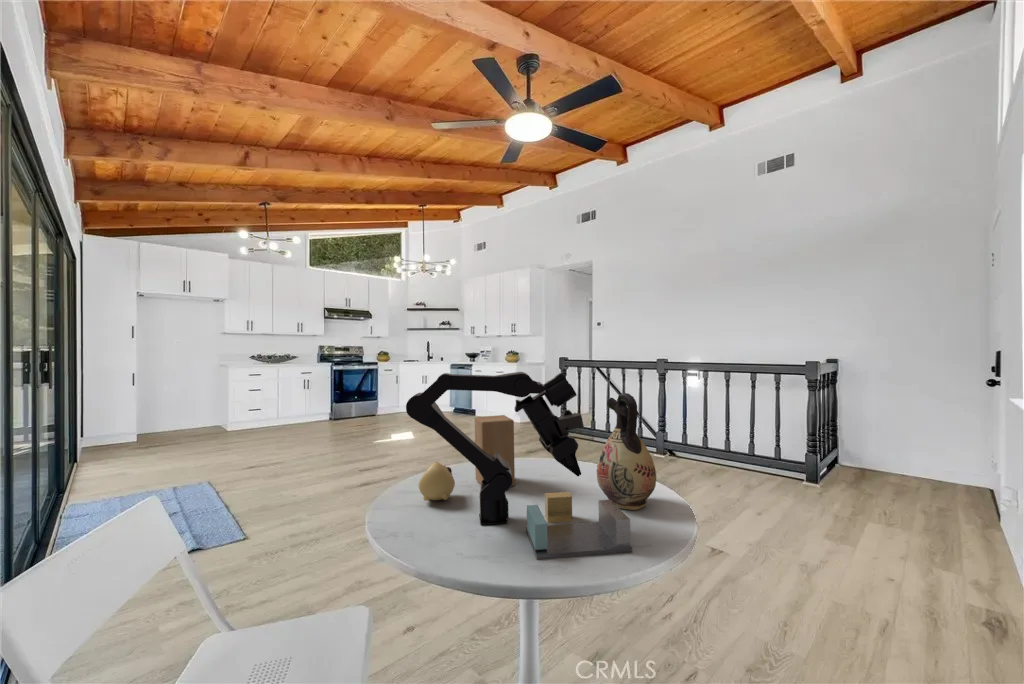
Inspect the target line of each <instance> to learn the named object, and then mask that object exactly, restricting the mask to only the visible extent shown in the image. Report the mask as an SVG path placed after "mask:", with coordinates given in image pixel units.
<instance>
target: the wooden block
mask: <svg viewBox="0 0 1024 684" xmlns="http://www.w3.org/2000/svg"><path fill="white" fill-rule="evenodd" d="M514 422H515V421H514V419H512V418H510V417H508V416H506V414H505V415H504V414H500V415H499V414H498V415H488V416H475V417H474V443H476V444H477V445H478V446H479V447H480V448H481V449H482V450H484V451H485V452H486V453H488V454H490V455H492V456H494V455H495V454H496V452H497V453H498V454H499V455H500V456H501V457H502V458H503V459H504V460H506V461H508V462H509V467H510V469H511V472H512V485H511V487H514V486H515V483H516V478H515V477H516V476H515V471H516V470H515V469H516V468H515V425H514V424H515V423H514ZM474 467H475V466H474ZM483 479H484V478H483V477H482V475H481V474H480V472H479V471H478V469H477V468H476V467H475V480H477V481H478V482H477V481H476V482H477V483H478V485H479V486H480V485H481V481H482V480H483Z"/></svg>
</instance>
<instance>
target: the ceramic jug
mask: <svg viewBox="0 0 1024 684" xmlns="http://www.w3.org/2000/svg"><path fill="white" fill-rule="evenodd" d="M606 406H607V408H609V409H610V410H612V411H614V413H615V415H616V424H615V427H614V428H613V430H612V431H611V434H610V435H609V437H608V438H607V440H606V442H605V444H604V446H603V448H602V450H601V452H600V454H599V458H598V461H597V466H596V480H597V483H598V487H599V488H600V489H601V491H602V492H603V494H604V495H605V496H606V497H607V500H612V501H613V502H614V503H615V504H616V505H617V506H618V507H619V508H620V509H621V508H622V509H621V510H627V509H628V510H631V511H637V510H640V509H642V508H644V507H646V505H647V500H648V498H649V497H650V496H651V495H652V494H653V492H654V490H655V488H656V484H657V471H656V467H655V463H654V460H653V457H652V455H651V453H650V450H648V448H647V446H646V445H645V443H644V441H643V440H642V439H641V438H640V437H639V435H638V433H637V426H638V424H637V423H638V412H639V411H638V405H637V400H636V399H635V397H634V396H633V395H632V394H630V393H628V392H624V393H621V394H619V395H618V397H617V399H615V398H614V397H609V399H608V400H607V402H606Z"/></svg>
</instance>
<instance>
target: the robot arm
mask: <svg viewBox="0 0 1024 684" xmlns="http://www.w3.org/2000/svg"><path fill="white" fill-rule="evenodd" d="M447 391H473V392H474V391H475V392H477V391H479V392H495V393H496V392H497V393H501V394H503V395H509V396H513V397H517V398H523V399H521V400H519V399H516V400H515V405H514V412H515V413H519V412H520V411H521V410H523V411H524V413H525V415H526V416H527V418H528V419H529V421H530V422H531V424H532V427H533V429H534V430H535V431H536V433H537V434H538V435H539V436H538V437H539V439H538V441H539V443H540V445H541V446H542V447H543V448H544V449H545V450H546V452H548V453H549V454H551V456H552V457H553V459H554V460H555V461H556V462H557V463H559V464H560V465H562V466H563V467H565V468H566V469H567V470H569V471H570V472H571V473H572V474H574V475H575V476H576V477H580V476H581V475H582V471H581V469H580V465H579V462H578V460H577V456H576V453H577V450H578V449H579V444H578V442H577V441H576V438H574V437H573V436H571V435H568V433H569V432H568V431H571V430H577V429H583V428H585V427H584V421H583V417H582V414H581V413H579V412H572V411H571V410H569V409H566V410H565V409H564V410H563V411H562V413H561V414H562V415H560V416H559V417H558V415H555V414H554V413H553V411H552V410H551V408H550V407H549V405H550V406H551V407H553V406H554V407H557V408H559V407H561V406H562V405H564V404H566V403H567V402H568V401H570V400H572V399H573V398H575V397H576V396H577V392H576V391H575V389H574V387H573V386H572V384H571V383H570V382H569V381H568V379H566V377H565V376H564V374H563V373H562V372H559V373H558V374H556V375H555V376H554V377H553V378H552V379H550V380H548V381H547V382H545V383H544V384H543V383H541V382H540V381H536V380H533V379H532V377H531V376H530V375H529V374H528V373H527V372H523V371H516V372H509V373H503V374H498V375H497V374H496V375H487V374H486V375H483V374H477V375H476V374H452V373H449V372H443V373H442V374H440V375H439V376H438V377H437V379H436V380H435V381H433V383H431V385H429V387H427V388H426V389H425V390H424V391H423V392H417V393H415V394H414V395H412V396H411V397H410V398H409V399H408V400H407V402H406V404H405V411H406V413H407V416H408V417H410V418H411V419H413V420H415V421H416V422H418V423H419V424H421V425H423V426H425V427H428V428H430V429H432V430H434V431H435V432H436V433H437V434H438V435H439V436H440V437H441V438H442V439H444V440H445V442H447V443H448V444H449V445H450V446H451V447H452V448H453V449H455V450H456V451H458V453H459V454H461V455H462V456H463V457H464V458H465V459H466V460H468V462H469V463H471V464H472V465H473V466H474V467H476V468H477V469H478V471H479V472H480V474H481V475H482V477H483V478H484V479H483V480H482V481H481V486H480V493H479V514H478V517H479V523H480V525H481V526H486V525H501V524H503V525H505V524H508V519H509V515H510V514H509V501H508V500H509V499H508V498H507V495H506V491H507V492H508V490H509V489H510V488H511V487H512V486H511V485H512V472H511V469H510V467H509V462H508V461H506V460H504V459H503V458H502V457H501V456H500V455H499V454H498V453H497V452H496V454H495V455H494V456H492V455H490V454H488V453H486V452H485V451H484V450H482V449H481V448H480V447H479V446H478V445H477V444H476V443H475V441H474V440H473V439H471V438H470V437H469V436H468V435H467V434H465V433H464V432H463V431H462V430H461V429H460V428H459V427H457V426H456V425H455V424H454V423H453V422H452V421H451V420H450V419H449V418H448V417H446V416H445V414H444V413H443V411H442V410H441V408H440V407H439V405H438V403H436V402H437V401H438V399H440V398H441V397H442V396H443V395H444V394H445V393H446V392H447ZM531 394H536V395H534V396H533V397H532V395H531ZM544 397H545V398H546V399H547V401H548V403H549V405H548V403H547V401H546V400H545V399H544Z"/></svg>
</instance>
